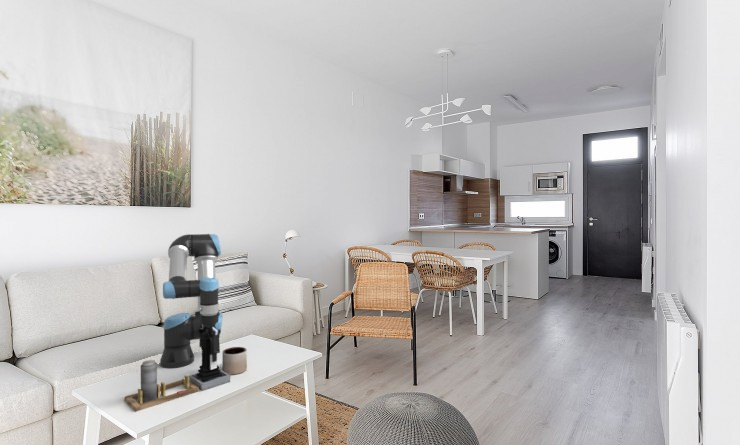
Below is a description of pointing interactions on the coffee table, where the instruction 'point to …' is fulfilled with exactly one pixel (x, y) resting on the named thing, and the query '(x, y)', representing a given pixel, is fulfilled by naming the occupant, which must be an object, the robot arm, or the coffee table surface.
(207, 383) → the tray
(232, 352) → the planter
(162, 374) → the coffee table surface
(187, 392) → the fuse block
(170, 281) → the robot arm
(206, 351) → the chess piece
